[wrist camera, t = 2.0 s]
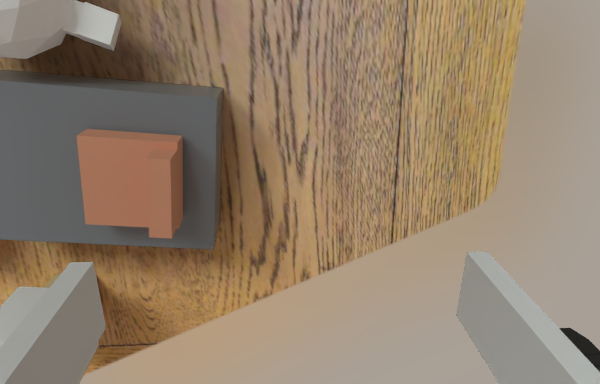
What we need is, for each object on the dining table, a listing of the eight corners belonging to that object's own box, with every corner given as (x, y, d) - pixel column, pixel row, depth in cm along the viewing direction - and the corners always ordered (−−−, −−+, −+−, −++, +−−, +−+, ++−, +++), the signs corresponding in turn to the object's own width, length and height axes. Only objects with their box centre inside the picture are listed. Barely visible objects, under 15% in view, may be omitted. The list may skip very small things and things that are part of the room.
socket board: (23, 213, 40) (-8, 239, 36) (1, 69, 36) (-39, 77, 31) (219, 223, 42) (213, 249, 37) (223, 87, 37) (216, 98, 33)
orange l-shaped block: (95, 213, 35) (71, 239, 31) (87, 128, 33) (60, 145, 28) (183, 218, 36) (171, 244, 32) (182, 135, 33) (170, 152, 29)
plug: (48, 316, 45) (-17, 405, 35) (40, 263, 42) (-32, 340, 32) (112, 318, 45) (67, 406, 35) (108, 265, 43) (58, 343, 33)
